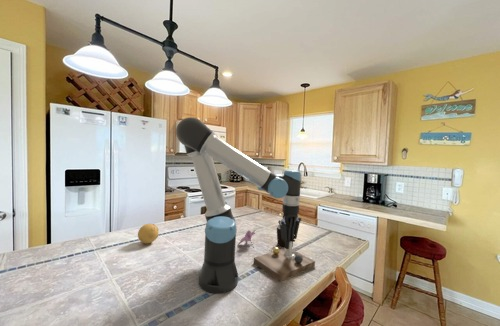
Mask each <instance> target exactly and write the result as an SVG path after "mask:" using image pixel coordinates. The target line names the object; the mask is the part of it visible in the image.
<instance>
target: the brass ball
mask: <svg viewBox="0 0 500 326" xmlns="http://www.w3.org/2000/svg"><path fill="white" fill-rule="evenodd" d="M272 252H273V253H274V254H275V255H278V254H279V253H280V248H279V247H277V246H275V247H273V248H272Z"/></svg>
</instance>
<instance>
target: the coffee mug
mask: <svg viewBox="0 0 500 326" xmlns="http://www.w3.org/2000/svg"><path fill="white" fill-rule="evenodd" d="M276 240H277V242H276V243H277V246H278V247H280V248H285V241H283V240H282V238H281V230H280V225H279V224H277V225H276Z"/></svg>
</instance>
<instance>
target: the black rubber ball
mask: <svg viewBox="0 0 500 326" xmlns="http://www.w3.org/2000/svg"><path fill="white" fill-rule="evenodd" d="M295 262H296V263H301V262H302V257H301V256H300V255H296V256H295Z"/></svg>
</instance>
